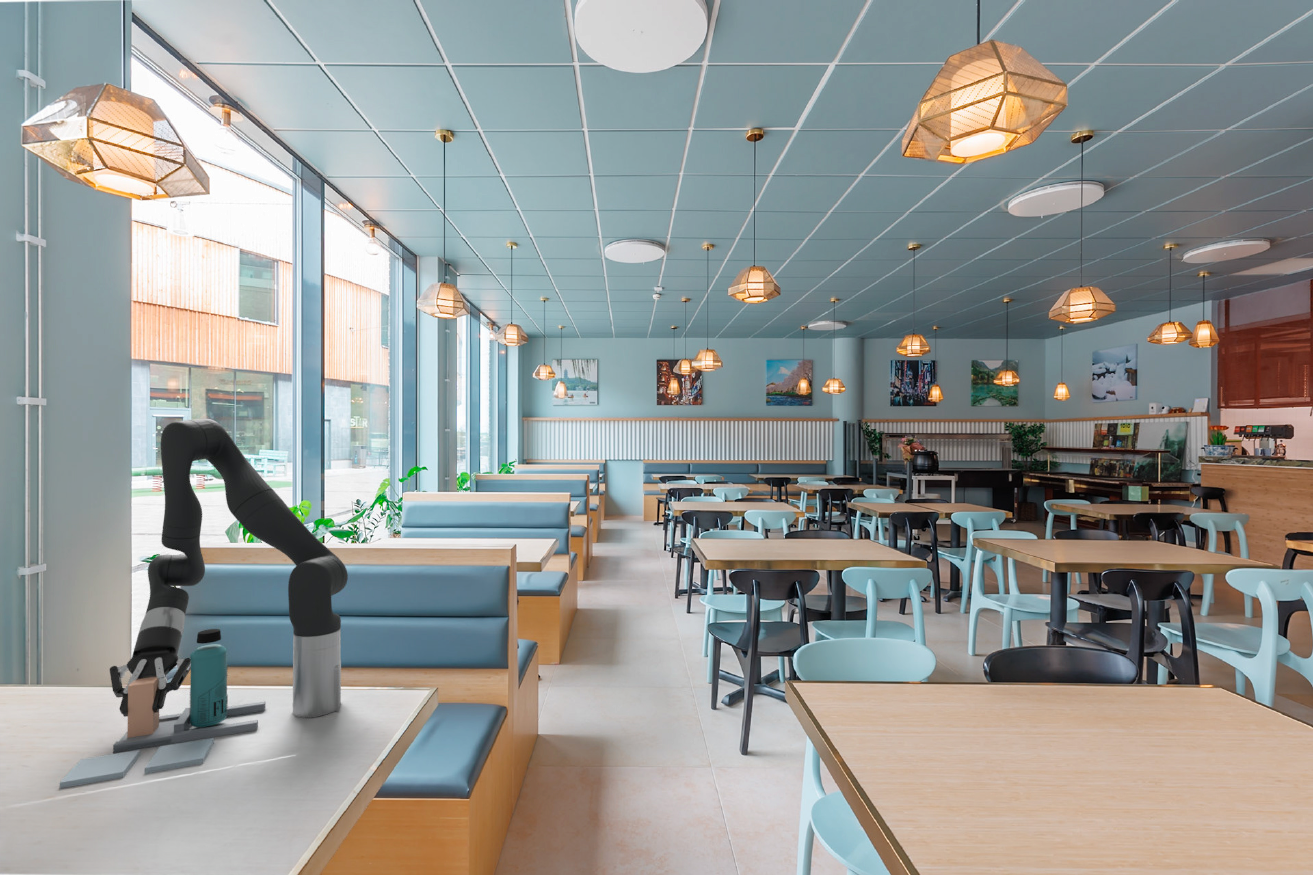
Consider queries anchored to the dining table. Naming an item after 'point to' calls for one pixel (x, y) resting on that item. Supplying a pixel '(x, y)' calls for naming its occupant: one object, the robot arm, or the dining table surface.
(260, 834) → the dining table surface
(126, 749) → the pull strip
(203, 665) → the beverage bottle
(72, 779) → the split strip
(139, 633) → the robot arm
